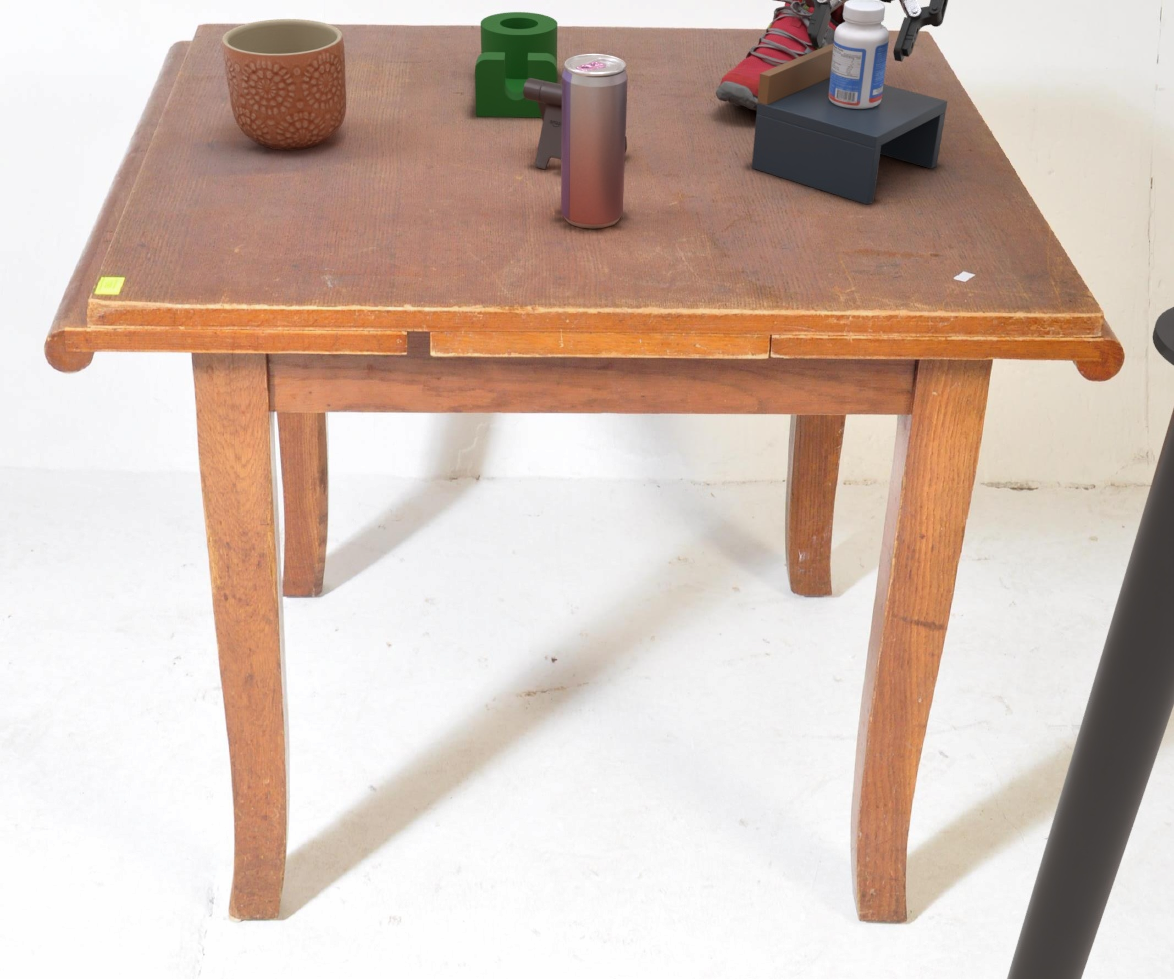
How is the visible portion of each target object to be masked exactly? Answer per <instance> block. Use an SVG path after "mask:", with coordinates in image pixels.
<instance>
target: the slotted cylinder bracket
mask: <svg viewBox="0 0 1174 979" xmlns="http://www.w3.org/2000/svg"><path fill="white" fill-rule="evenodd" d="M529 78H533V79H538V80H542V81H547V82H552V83H557V84H558V21H557V20H556V19H554V18H553V17H551V16H549V15H546V14H541V13H535V12H525V11H512V12H511V11H507V12H501V13H496V14H491V15H488V16H486V17H483V19H481V21H480V54H479V55H478V57H477V58H476V62H475V68H474V80H475V81H474V85H475V86H474V89H475V90H474V91H475V117H483V118H485V117H487V118H542V117H541V113H540V109H539V106H538V102H537V101H532V100H527V99H525V97H524V95H523V88H524V84H525V82H526V80H527V79H529Z"/></svg>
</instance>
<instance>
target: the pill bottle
mask: <svg viewBox="0 0 1174 979" xmlns="http://www.w3.org/2000/svg"><path fill="white" fill-rule="evenodd" d="M885 10H886V4H884V2H882V1H880V0H849V1H846V2H845V4H844V11H843V18H844V20H845V22H844V23H842V24H840V25H839V26H838V27H837V28H836V30H835V34H834V43H833V54H832V64H831V75H830V85H829V100H830V101H831V102H832V103H833V104H835V105H837V106H840V107H844V108H851V109H868V108H872V107H875V106H877V105H878V104H879V103H880V102H881V99H882V92H883V84H884V85H885V77H886V76H885V74H886V68H887V59H888V49H889V41H890V32H889V29H888V28H887V27H886V26H885V25H883V24H882V23H883V22H884V20H885V12H886V11H885Z"/></svg>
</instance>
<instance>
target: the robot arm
mask: <svg viewBox="0 0 1174 979" xmlns="http://www.w3.org/2000/svg"><path fill="white" fill-rule="evenodd" d="M804 1H805V4H806V6H807V7H813V8H814V10H813V13H812V16H811V19H810V22H809V25H808V28H807V32H808V36H809V40H810V41H811V43H812V46H813V47H817V48H820V47H821V45H822V42H823V39H824V36H825V33H826V30H827V27H828V24H829V21H830V18H831V15H830V13H831V12H833V11H834V10H835V9H837V8H838V7H839V6H841V5H842V4H845V2H846V1H849V0H804ZM893 1H894V0H879V2H882V3H888V4H892V2H893ZM898 2H899V4H900V6H901V8H902V10H903V13H904V14H905V17H903V19H902V23H901V26H900V29H899V32H898V36H897V38H896V40H895V44H894V47H893V58H894V61H895V62H903V61H904V58H905V57H906V58H907V57H908V58H909V57H910V56H911V55H912V53H913V50H914V48H915V45H916V42H917V39H918V36H919V32H920V30H921V29H922V28H924V27H926V26H932V27H934V28H935V27H940V26H941V25H942V24H943V22H944V19H945V16H946V15H945V14H946V10H947V8H948V4H949V0H930V1H929V4H928V6H922V7H921V6H920V3H919V1H918V0H898Z"/></svg>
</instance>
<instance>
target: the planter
mask: <svg viewBox="0 0 1174 979" xmlns="http://www.w3.org/2000/svg"><path fill="white" fill-rule="evenodd" d="M221 37H222V38H221V51H222V58H223V64H224V70H225V76H226V82H227V88H228V95H229V100H230V106H231V110H232V115H233V117H234V120H235V122H236V124H237V126H238V128H239V130H240V131H241V132H242V133H243V134H244V135H245V136H246V137H248V138H249V139H250V140H252V141H253V142H255V143H256V144H258V145H261V146H263V147H266V148H269V149H274V150H284V151H285V150H286V151H292V150H303V149H308V148H309V149H310V148H313V147H316V146H319V145H321V144H323V143H325V142H326V141H328V140H329V139H331V138H332V137H333V136H334V135H335V134H336V133H337V132H338V131H339V130H340V128H341V127H342V125H343V123H344V121H345V117H346V113H347V112H346V111H347V87H346V86H347V85H346V84H347V83H346V54H345V52H346V51H345V40H344V36H343V33H342V31H341V30H340V29H339V28H337V27H336V26H334V25H332V24H330V23H326V22H322V21H317V20H310V19H301V18H279V19H278V18H277V19H266V20H260V21H259V20H258V21H253V22H247V23H246V24H245V23H244V24H241V25H239V26H236V27H233V28H231V29H230V30H227V32H225V33H224V34H223V36H221Z"/></svg>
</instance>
